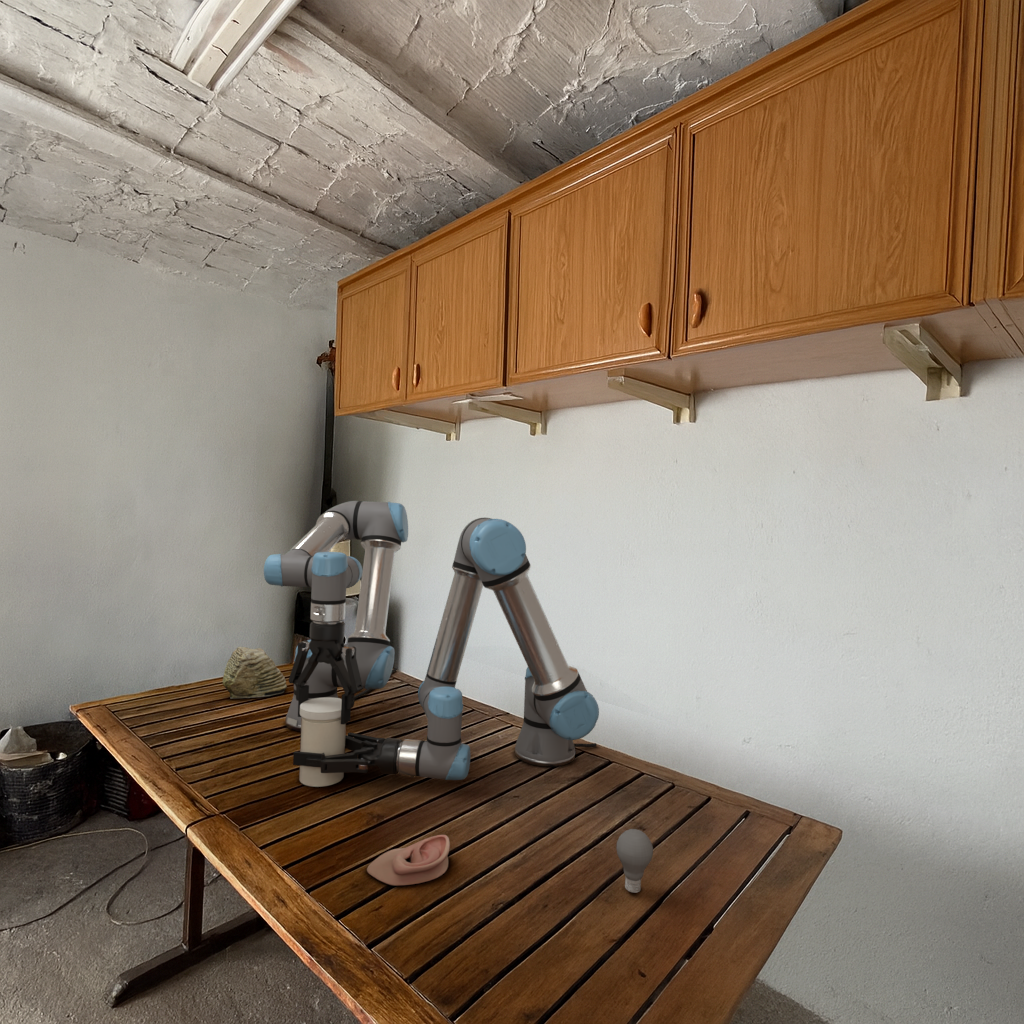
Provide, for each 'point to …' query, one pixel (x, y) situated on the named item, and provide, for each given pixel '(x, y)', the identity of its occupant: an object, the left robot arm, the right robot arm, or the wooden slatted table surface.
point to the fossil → (252, 674)
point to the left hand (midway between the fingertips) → (323, 718)
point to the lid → (321, 708)
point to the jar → (321, 748)
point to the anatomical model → (412, 862)
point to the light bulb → (634, 857)
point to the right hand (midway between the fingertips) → (304, 748)
